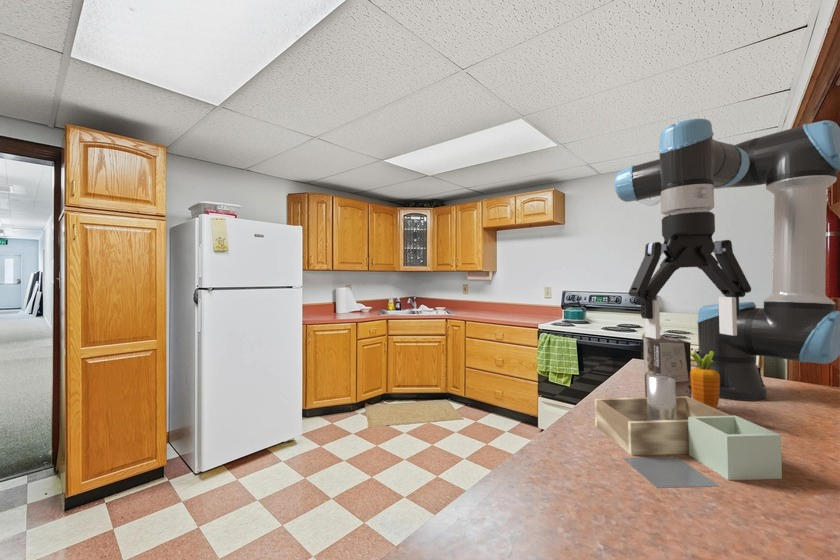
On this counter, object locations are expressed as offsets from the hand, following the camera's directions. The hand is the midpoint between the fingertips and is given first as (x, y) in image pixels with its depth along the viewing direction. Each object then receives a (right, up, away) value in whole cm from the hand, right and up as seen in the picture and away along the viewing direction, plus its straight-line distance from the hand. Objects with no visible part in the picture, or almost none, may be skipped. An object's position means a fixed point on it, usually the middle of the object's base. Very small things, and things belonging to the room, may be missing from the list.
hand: (690, 336), depth 66 cm
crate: (-2, -20, +5) cm, 21 cm away
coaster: (-9, -21, -7) cm, 23 cm away
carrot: (+12, -20, +13) cm, 27 cm away
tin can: (-2, -20, +5) cm, 21 cm away
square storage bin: (+2, -20, -6) cm, 21 cm away
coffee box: (+10, -20, +22) cm, 31 cm away
